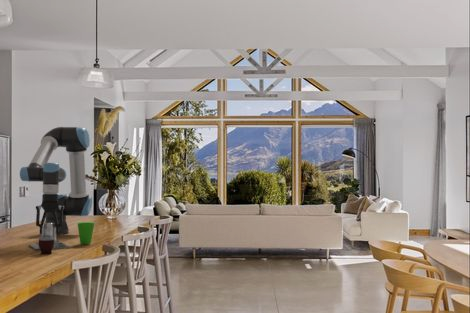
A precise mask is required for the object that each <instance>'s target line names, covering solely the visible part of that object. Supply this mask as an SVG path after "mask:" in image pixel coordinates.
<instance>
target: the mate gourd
mask: <svg viewBox="0 0 470 313" xmlns="http://www.w3.org/2000/svg"><path fill="white" fill-rule="evenodd" d="M46 233H47V223H46V227H45V236H42V235H41V236H40V237H39V239H38V243H37V244H38V245H39V248H40V250H39V251H40V255H41V254H42V255H52V254H53V252H52V250H54V249H53V247H54V243H55V242H54V238H53V236H46Z"/></svg>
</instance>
